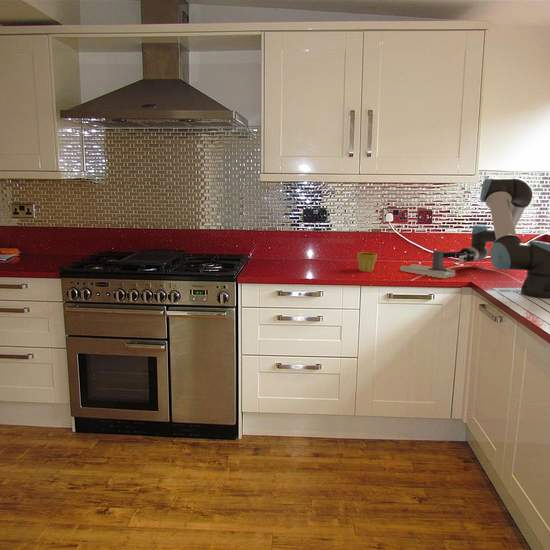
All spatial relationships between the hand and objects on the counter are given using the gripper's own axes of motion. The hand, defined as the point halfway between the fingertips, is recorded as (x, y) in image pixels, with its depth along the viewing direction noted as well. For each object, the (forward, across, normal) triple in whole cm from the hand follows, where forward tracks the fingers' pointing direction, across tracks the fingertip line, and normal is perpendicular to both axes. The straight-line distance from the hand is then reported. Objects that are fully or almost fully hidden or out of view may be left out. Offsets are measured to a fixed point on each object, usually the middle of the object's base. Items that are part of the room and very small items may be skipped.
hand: (447, 257), depth 265 cm
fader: (+9, 0, -6) cm, 11 cm away
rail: (+9, +6, -9) cm, 14 cm away
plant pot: (+29, +30, -9) cm, 42 cm away
